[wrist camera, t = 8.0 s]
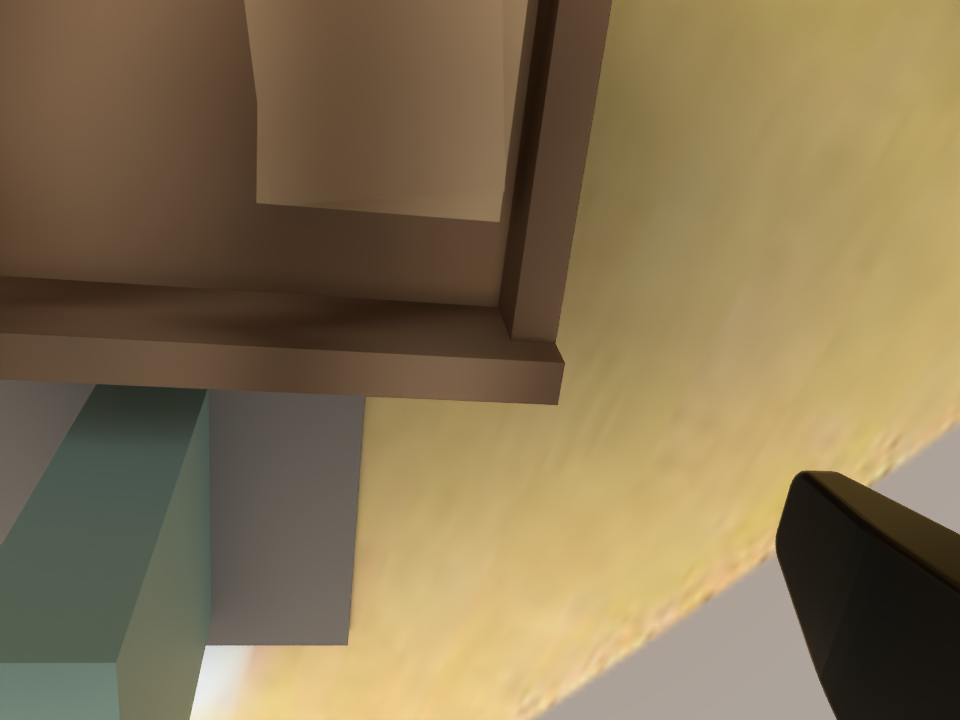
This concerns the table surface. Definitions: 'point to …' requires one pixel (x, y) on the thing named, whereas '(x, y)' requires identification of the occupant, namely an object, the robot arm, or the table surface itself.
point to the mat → (237, 501)
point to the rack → (264, 221)
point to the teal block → (112, 565)
